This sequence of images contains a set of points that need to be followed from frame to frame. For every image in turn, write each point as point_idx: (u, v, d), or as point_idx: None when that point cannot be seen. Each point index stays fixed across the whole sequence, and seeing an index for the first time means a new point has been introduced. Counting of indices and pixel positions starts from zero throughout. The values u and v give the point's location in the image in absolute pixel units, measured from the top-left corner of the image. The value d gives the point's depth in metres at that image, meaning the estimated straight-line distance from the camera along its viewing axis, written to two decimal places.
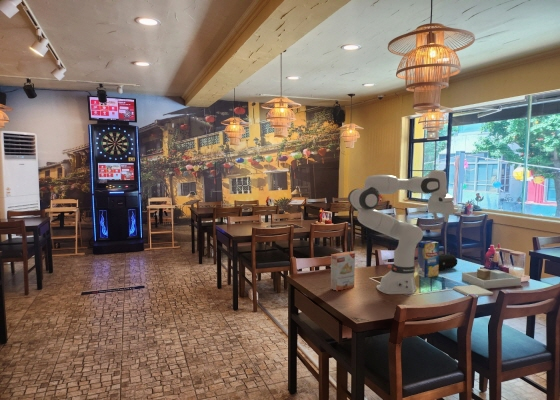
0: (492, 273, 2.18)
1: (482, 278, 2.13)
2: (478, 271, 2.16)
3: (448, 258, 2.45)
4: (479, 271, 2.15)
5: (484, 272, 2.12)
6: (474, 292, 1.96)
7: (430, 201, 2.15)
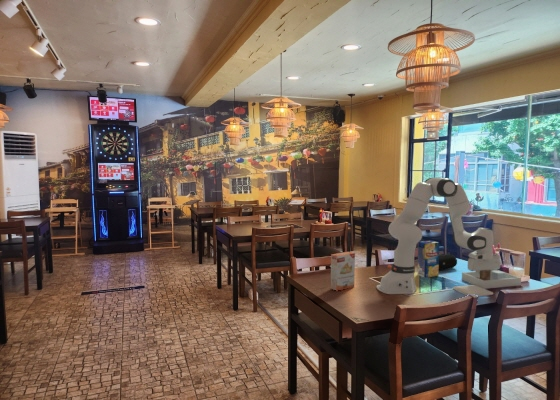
0: (492, 273, 2.18)
1: (482, 278, 2.13)
2: None
3: (448, 258, 2.45)
4: None
5: (484, 272, 2.12)
6: (474, 292, 1.96)
7: None
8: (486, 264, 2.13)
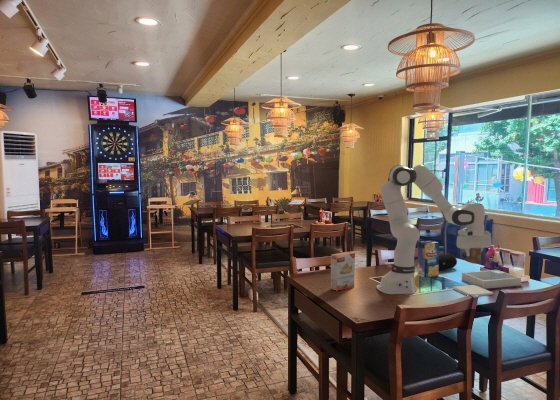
0: (492, 273, 2.18)
1: (472, 256, 1.98)
2: None
3: (448, 258, 2.45)
4: None
5: (474, 250, 1.97)
6: (474, 292, 1.96)
7: None
8: (477, 241, 1.98)
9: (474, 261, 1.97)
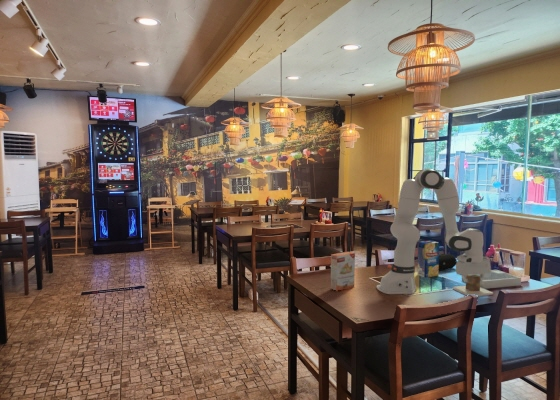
0: (492, 273, 2.18)
1: (471, 284, 1.98)
2: (467, 277, 2.01)
3: (448, 258, 2.45)
4: (468, 277, 2.00)
5: (473, 278, 1.98)
6: (474, 292, 1.96)
7: None
8: (476, 267, 1.98)
9: (473, 289, 1.98)
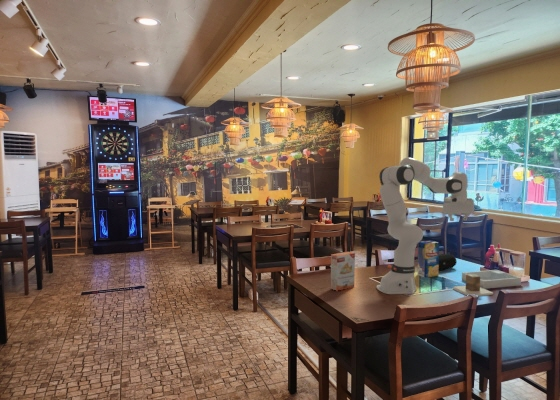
0: (492, 273, 2.18)
1: (471, 284, 1.98)
2: (467, 277, 2.01)
3: (448, 258, 2.46)
4: (468, 277, 2.00)
5: (473, 278, 1.98)
6: (474, 292, 1.96)
7: None
8: (461, 207, 2.20)
9: (473, 289, 1.98)
